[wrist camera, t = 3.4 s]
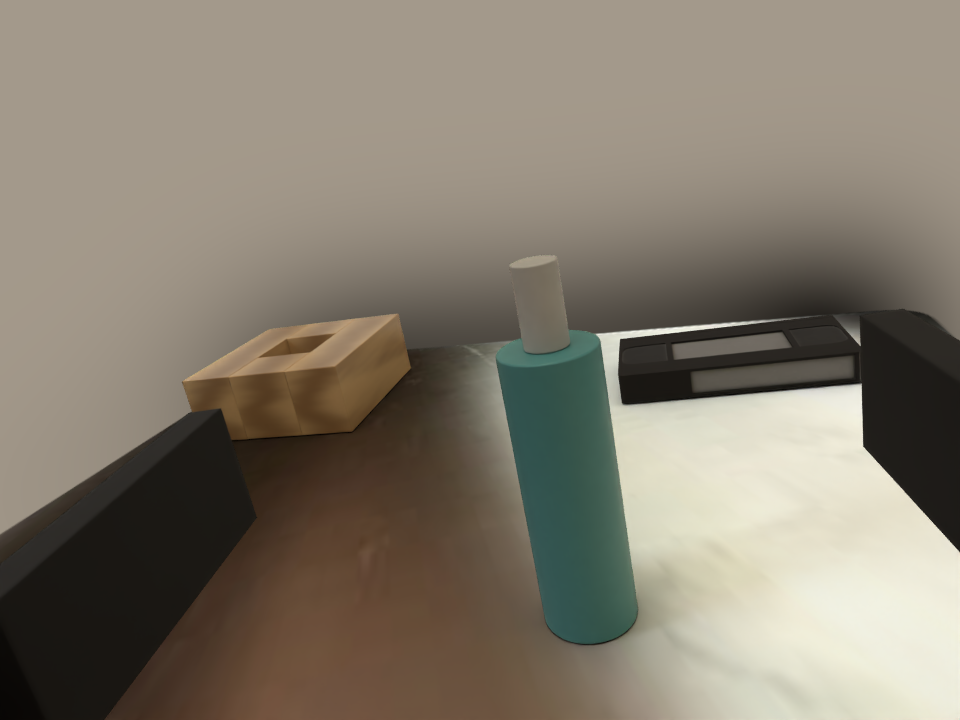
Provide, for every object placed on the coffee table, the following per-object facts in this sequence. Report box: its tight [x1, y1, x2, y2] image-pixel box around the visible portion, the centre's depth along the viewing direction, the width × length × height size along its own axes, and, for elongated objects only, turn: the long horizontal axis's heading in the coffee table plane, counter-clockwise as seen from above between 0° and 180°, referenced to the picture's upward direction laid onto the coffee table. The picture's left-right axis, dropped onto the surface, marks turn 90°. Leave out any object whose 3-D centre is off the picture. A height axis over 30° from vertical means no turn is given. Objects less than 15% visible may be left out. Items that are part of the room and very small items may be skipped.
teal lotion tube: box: [496, 255, 638, 644], centre depth 25 cm, size 4×4×14 cm
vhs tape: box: [618, 315, 862, 403], centre depth 47 cm, size 8×14×2 cm, turn 78°
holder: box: [182, 314, 411, 440], centre depth 57 cm, size 13×13×5 cm
